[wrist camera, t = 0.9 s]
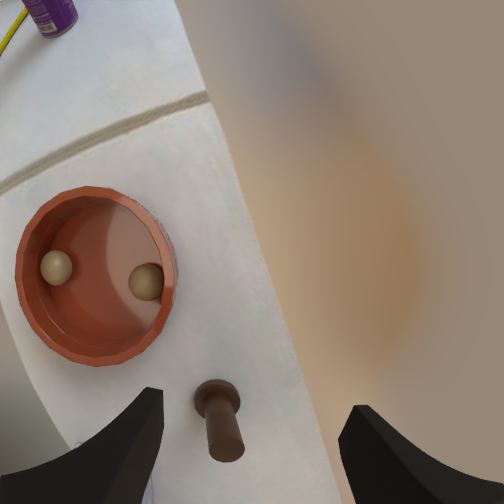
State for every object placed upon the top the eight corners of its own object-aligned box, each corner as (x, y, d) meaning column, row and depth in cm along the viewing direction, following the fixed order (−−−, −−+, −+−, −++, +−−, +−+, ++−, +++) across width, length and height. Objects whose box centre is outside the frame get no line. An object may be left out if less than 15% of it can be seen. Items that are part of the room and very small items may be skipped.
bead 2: (164, 300, 23) (160, 306, 21) (130, 295, 23) (123, 301, 20) (168, 265, 23) (164, 267, 21) (134, 260, 23) (126, 262, 20)
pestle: (236, 417, 25) (252, 470, 17) (192, 414, 24) (195, 469, 16) (241, 380, 25) (260, 428, 17) (196, 377, 24) (198, 426, 16)
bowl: (170, 355, 24) (166, 379, 19) (42, 330, 22) (15, 345, 17) (187, 207, 24) (186, 197, 19) (53, 192, 22) (27, 180, 17)
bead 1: (75, 285, 22) (62, 290, 19) (48, 280, 21) (33, 284, 19) (78, 252, 22) (65, 252, 19) (51, 247, 21) (36, 247, 19)
